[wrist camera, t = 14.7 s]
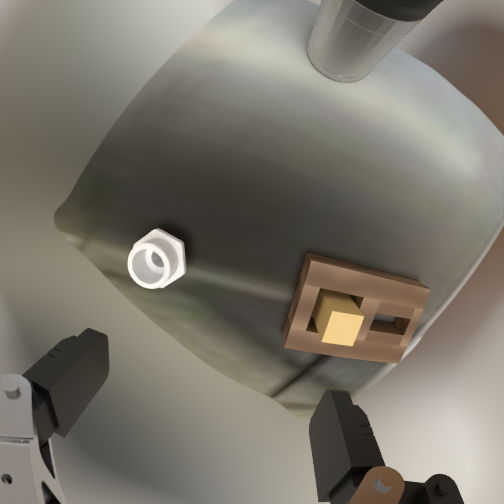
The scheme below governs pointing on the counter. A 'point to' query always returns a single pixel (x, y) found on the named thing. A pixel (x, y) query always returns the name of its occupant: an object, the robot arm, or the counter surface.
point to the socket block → (369, 303)
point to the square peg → (336, 317)
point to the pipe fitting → (157, 260)
